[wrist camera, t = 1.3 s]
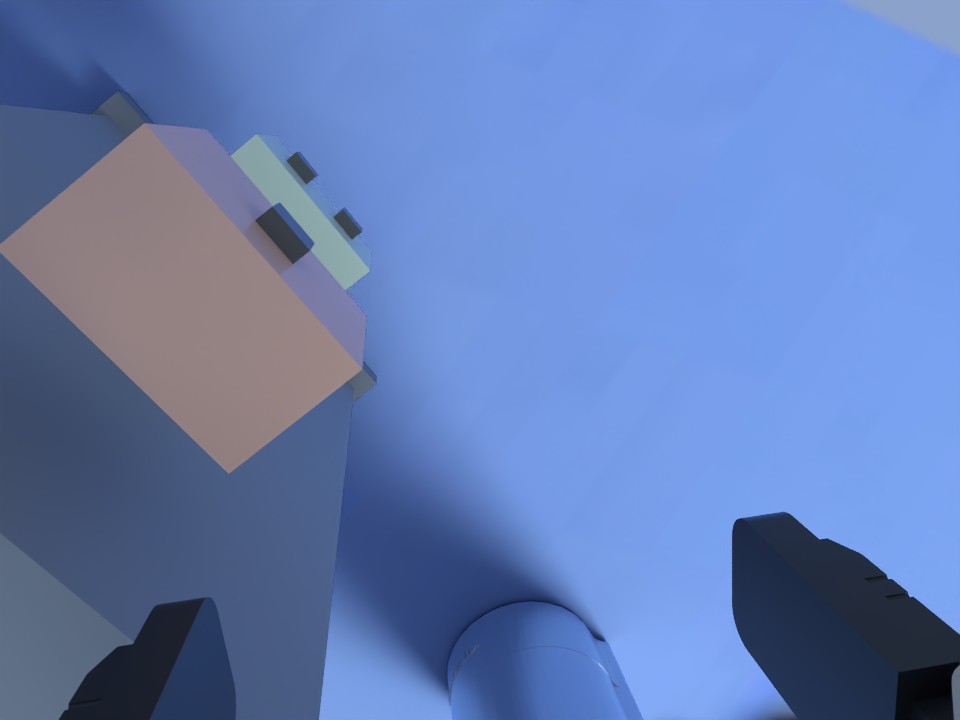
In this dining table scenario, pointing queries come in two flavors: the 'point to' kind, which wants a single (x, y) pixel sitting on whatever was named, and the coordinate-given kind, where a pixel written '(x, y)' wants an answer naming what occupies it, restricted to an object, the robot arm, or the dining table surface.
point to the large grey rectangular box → (142, 485)
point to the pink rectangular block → (195, 289)
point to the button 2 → (306, 206)
